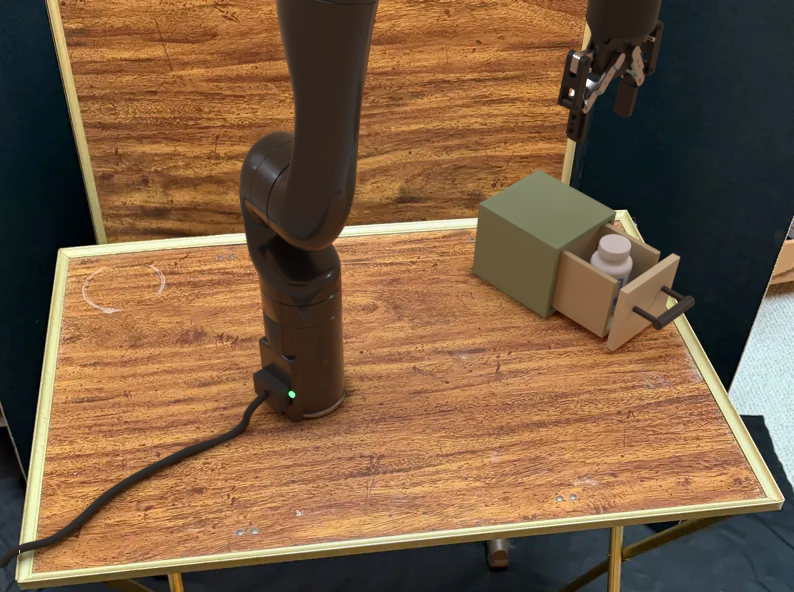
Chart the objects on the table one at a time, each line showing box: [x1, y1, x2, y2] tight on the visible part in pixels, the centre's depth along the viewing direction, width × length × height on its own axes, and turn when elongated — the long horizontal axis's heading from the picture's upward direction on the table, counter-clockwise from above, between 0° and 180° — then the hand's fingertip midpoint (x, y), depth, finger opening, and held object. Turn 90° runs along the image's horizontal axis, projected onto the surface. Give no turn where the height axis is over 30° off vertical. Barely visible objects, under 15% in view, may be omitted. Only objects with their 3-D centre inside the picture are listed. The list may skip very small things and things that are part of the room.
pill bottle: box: [590, 234, 632, 316], centre depth 127 cm, size 6×5×10 cm
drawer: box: [550, 222, 696, 352], centre depth 127 cm, size 17×11×9 cm, turn 43°
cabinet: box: [472, 169, 617, 319], centre depth 133 cm, size 14×12×11 cm
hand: (598, 127), depth 113 cm, fingers open, 8 cm apart
